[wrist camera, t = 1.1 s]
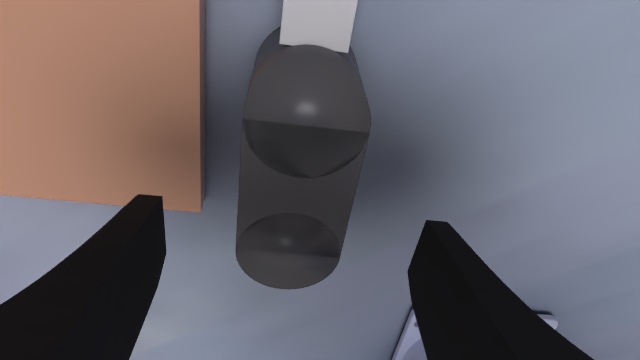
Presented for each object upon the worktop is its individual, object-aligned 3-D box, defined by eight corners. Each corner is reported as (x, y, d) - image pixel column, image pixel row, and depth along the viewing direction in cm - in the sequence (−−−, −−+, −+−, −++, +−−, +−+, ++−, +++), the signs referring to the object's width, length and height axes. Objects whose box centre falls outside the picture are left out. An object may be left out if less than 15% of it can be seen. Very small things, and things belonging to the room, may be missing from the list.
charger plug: (326, 222, 20) (331, 292, 17) (245, 215, 20) (233, 285, 16) (376, -26, 14) (399, 6, 11) (261, -44, 14) (249, -16, 10)
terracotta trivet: (205, 197, 19) (200, 212, 18) (-80, 171, 18) (-99, 186, 17) (205, -111, 13) (198, -109, 12) (-234, -184, 11) (-275, -189, 11)
